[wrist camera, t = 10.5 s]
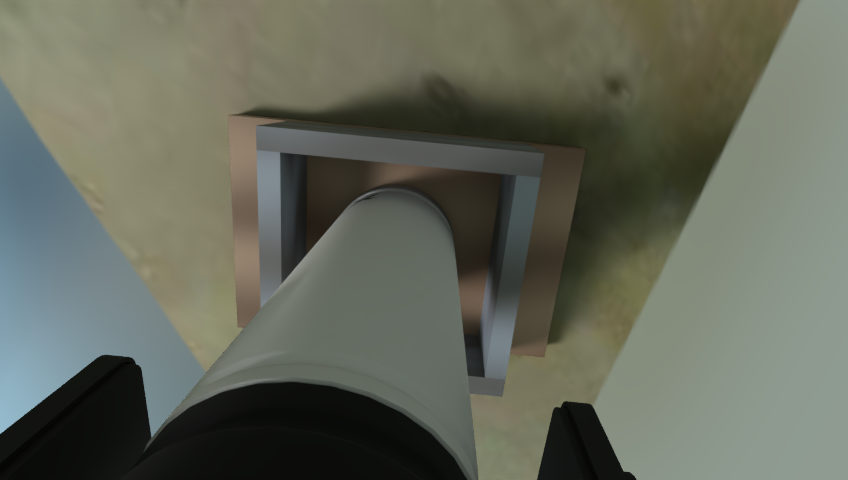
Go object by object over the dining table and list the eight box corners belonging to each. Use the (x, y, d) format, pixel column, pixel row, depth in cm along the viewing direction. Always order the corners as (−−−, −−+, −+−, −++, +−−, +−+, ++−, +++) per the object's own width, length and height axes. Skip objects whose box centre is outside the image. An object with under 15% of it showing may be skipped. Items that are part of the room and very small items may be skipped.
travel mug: (341, 170, 23) (-174, 544, 4) (465, 197, 23) (597, 683, 4) (324, 279, 25) (-70, 900, 6) (439, 304, 25) (440, 980, 6)
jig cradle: (238, 114, 23) (183, 118, 18) (579, 147, 23) (617, 160, 18) (246, 317, 27) (202, 366, 22) (539, 346, 27) (562, 402, 22)
